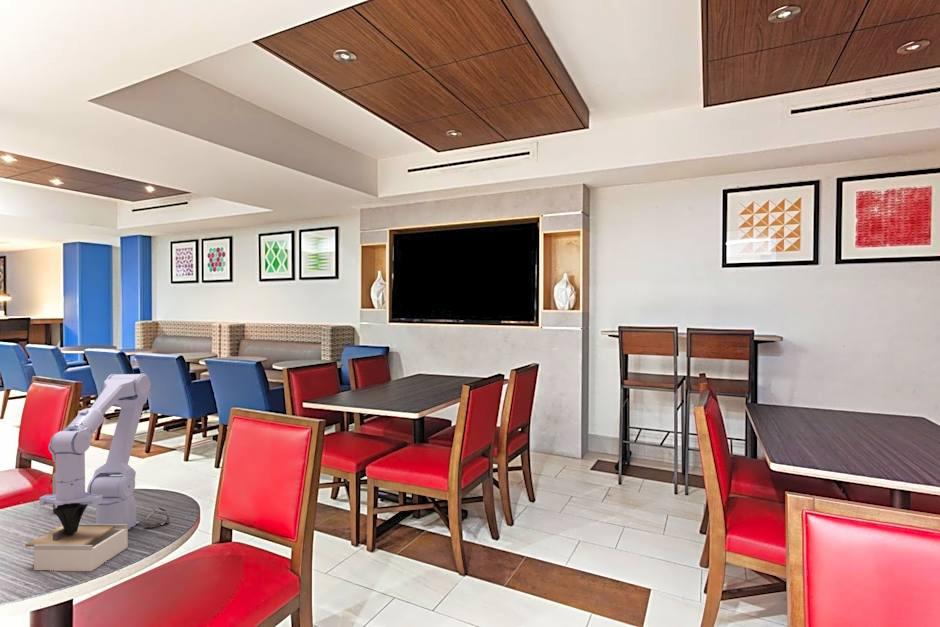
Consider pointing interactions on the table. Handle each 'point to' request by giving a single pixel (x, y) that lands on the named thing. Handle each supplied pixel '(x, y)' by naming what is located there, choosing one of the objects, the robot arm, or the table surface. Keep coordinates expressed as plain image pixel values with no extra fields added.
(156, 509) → the wristwatch
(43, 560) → the box
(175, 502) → the table surface
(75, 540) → the lid
